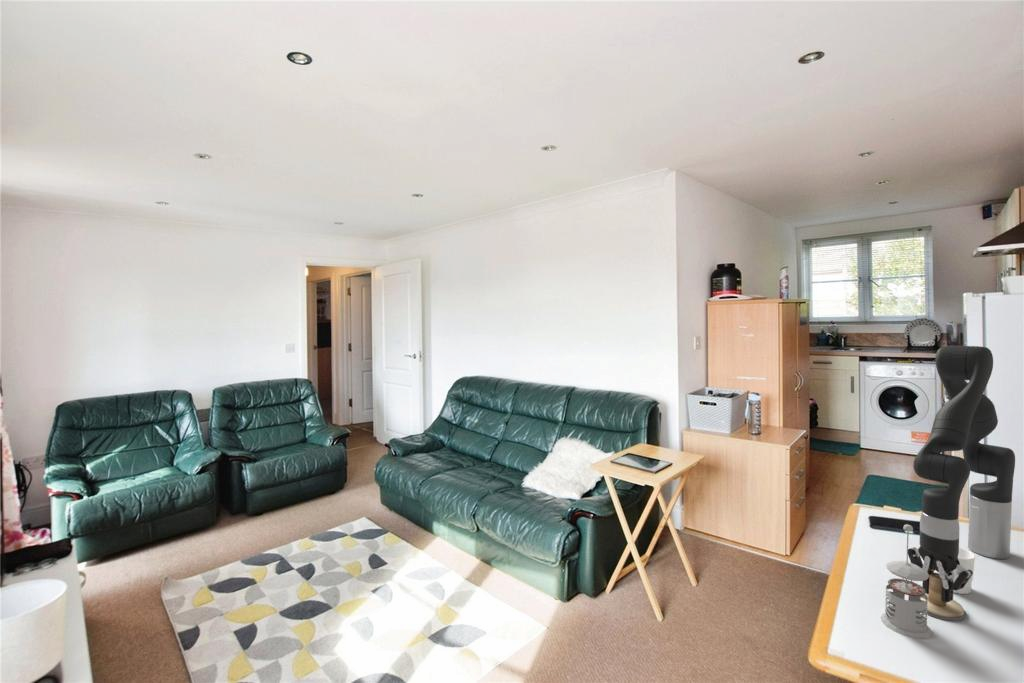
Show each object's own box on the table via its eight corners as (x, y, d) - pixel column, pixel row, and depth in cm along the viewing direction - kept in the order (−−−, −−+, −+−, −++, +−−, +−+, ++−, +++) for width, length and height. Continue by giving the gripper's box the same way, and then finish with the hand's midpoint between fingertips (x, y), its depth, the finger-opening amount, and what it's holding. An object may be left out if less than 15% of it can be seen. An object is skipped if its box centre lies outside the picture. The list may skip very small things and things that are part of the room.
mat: (926, 591, 133) (926, 589, 133) (976, 614, 122) (976, 613, 122) (899, 600, 129) (899, 598, 129) (947, 625, 119) (947, 623, 119)
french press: (878, 627, 119) (881, 526, 117) (882, 604, 128) (884, 510, 126) (932, 644, 113) (935, 538, 111) (931, 618, 121) (935, 520, 120)
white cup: (981, 597, 129) (982, 560, 129) (946, 594, 131) (947, 558, 130) (960, 580, 137) (961, 545, 136) (928, 578, 139) (929, 543, 138)
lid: (928, 590, 132) (928, 562, 131) (973, 612, 123) (974, 581, 122) (902, 599, 129) (903, 570, 128) (947, 621, 119) (948, 590, 119)
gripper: (983, 541, 119) (980, 609, 120) (918, 518, 132) (916, 579, 133) (963, 547, 116) (960, 616, 118) (899, 522, 130) (897, 585, 131)
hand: (937, 596), depth 126 cm, fingers closed on lid, 3 cm apart
